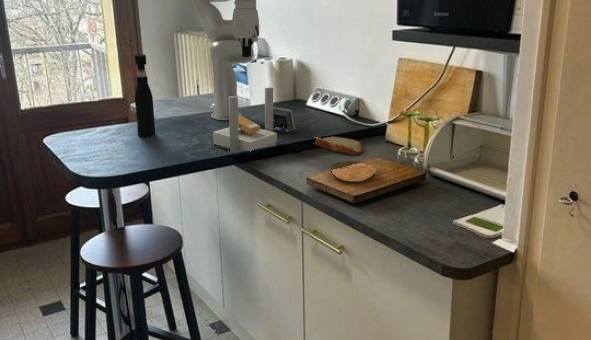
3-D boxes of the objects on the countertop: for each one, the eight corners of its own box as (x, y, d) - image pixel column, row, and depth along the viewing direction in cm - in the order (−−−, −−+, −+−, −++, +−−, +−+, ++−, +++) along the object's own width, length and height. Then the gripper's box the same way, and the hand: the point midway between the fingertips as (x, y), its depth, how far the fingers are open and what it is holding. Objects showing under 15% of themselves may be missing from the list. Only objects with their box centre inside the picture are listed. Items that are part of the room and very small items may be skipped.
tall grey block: (259, 142, 209) (259, 88, 202) (268, 139, 213) (268, 86, 206) (269, 145, 206) (269, 90, 199) (278, 141, 210) (278, 88, 203)
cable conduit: (224, 154, 196) (222, 97, 189) (234, 150, 200) (233, 94, 193) (234, 157, 193) (233, 99, 186) (244, 153, 197) (243, 97, 190)
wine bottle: (159, 133, 217) (153, 54, 207) (148, 138, 212) (141, 57, 201) (145, 131, 220) (138, 53, 209) (134, 136, 214) (127, 55, 204)
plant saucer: (322, 181, 175) (323, 173, 174) (336, 165, 188) (336, 158, 187) (369, 188, 170) (370, 180, 169) (380, 172, 183) (381, 164, 182)
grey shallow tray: (213, 145, 205) (213, 128, 203) (240, 136, 215) (240, 120, 213) (250, 156, 195) (249, 138, 192) (276, 146, 205) (277, 129, 203)
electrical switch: (295, 131, 223) (294, 108, 219) (288, 135, 219) (287, 112, 215) (276, 127, 228) (274, 105, 224) (268, 131, 224) (267, 109, 220)
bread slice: (311, 140, 213) (311, 130, 212) (359, 141, 213) (360, 131, 212) (312, 156, 197) (312, 146, 195) (364, 157, 197) (365, 146, 195)
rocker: (229, 122, 203) (230, 117, 202) (239, 119, 207) (240, 114, 206) (249, 134, 198) (250, 128, 197) (259, 131, 202) (260, 125, 201)
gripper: (223, 4, 206) (225, 55, 212) (253, 7, 197) (254, 60, 204) (238, 3, 211) (239, 53, 218) (268, 5, 202) (268, 57, 209)
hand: (246, 56), depth 211 cm, fingers closed
